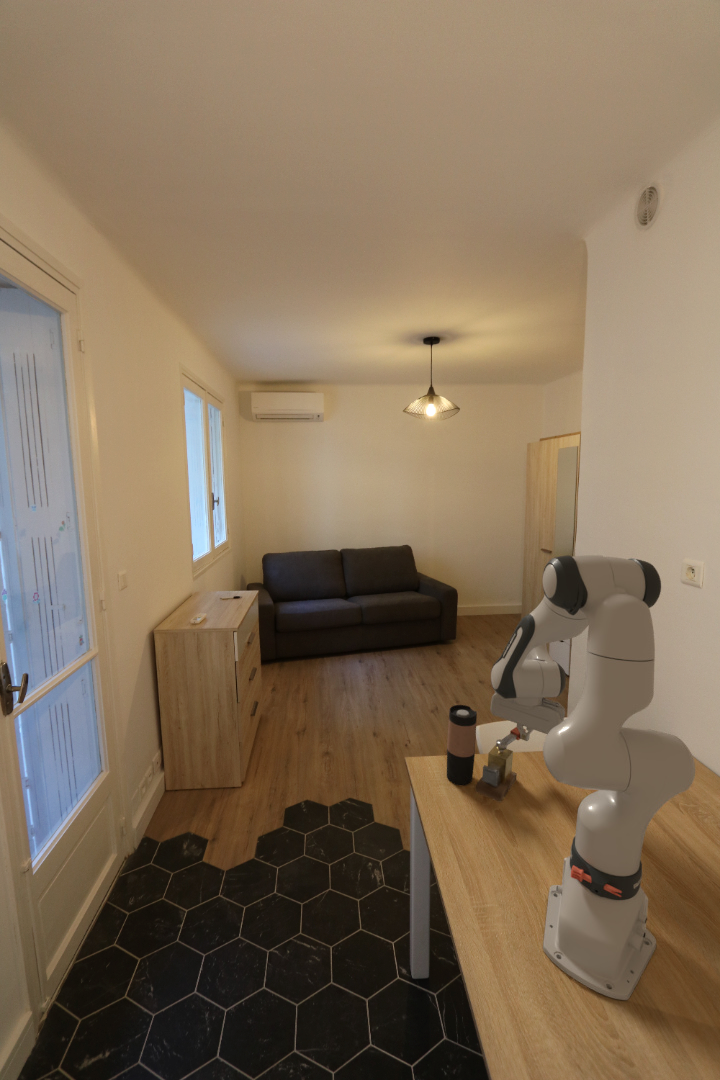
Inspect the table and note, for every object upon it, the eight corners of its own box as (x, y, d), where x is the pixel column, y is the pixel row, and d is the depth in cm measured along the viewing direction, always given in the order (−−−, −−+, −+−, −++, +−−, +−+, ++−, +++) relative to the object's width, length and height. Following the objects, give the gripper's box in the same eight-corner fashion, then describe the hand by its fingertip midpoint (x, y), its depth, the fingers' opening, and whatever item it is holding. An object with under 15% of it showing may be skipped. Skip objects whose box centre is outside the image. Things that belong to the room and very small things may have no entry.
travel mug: (444, 783, 133) (447, 715, 130) (447, 767, 140) (450, 702, 137) (472, 788, 131) (476, 720, 128) (474, 772, 138) (478, 707, 135)
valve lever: (503, 751, 130) (503, 745, 130) (493, 747, 132) (494, 741, 132) (525, 735, 139) (526, 729, 139) (516, 731, 141) (517, 725, 141)
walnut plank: (500, 802, 125) (500, 795, 125) (475, 791, 130) (475, 784, 129) (516, 779, 135) (516, 773, 135) (492, 770, 139) (492, 763, 139)
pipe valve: (497, 792, 126) (499, 764, 125) (479, 785, 129) (481, 757, 128) (512, 772, 135) (514, 746, 134) (495, 765, 138) (497, 740, 137)
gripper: (569, 701, 130) (565, 749, 132) (499, 679, 144) (496, 723, 145) (561, 709, 125) (557, 758, 127) (489, 685, 139) (486, 730, 141)
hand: (524, 739), depth 136 cm, fingers closed
